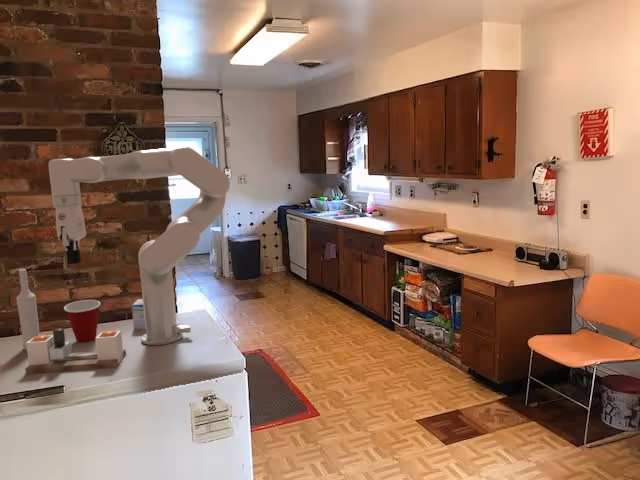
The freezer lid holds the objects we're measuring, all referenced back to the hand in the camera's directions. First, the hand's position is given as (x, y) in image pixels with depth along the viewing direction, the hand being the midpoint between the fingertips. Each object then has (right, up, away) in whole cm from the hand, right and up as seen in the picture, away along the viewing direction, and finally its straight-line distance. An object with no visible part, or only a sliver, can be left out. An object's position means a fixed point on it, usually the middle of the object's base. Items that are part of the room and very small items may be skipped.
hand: (74, 263), depth 156 cm
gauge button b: (-6, -22, -8) cm, 24 cm away
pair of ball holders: (+4, -28, -7) cm, 29 cm away
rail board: (+4, -28, -7) cm, 29 cm away
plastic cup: (-3, -26, +14) cm, 29 cm away
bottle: (-17, -27, +9) cm, 33 cm away
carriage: (0, -26, -7) cm, 27 cm away
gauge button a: (+13, -21, -7) cm, 26 cm away
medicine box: (+11, -23, +27) cm, 37 cm away
